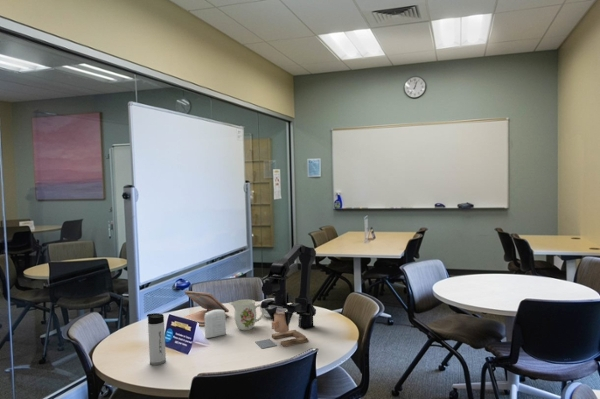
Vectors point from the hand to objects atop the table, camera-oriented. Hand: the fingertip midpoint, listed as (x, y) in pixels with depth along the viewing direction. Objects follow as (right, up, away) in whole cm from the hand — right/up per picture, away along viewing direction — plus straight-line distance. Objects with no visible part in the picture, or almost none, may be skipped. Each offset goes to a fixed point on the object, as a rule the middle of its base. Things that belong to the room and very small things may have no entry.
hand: (281, 324), depth 196 cm
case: (-44, -8, +38) cm, 59 cm away
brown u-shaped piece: (+3, -7, +2) cm, 8 cm away
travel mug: (-50, -10, -19) cm, 55 cm away
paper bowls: (-6, -7, +39) cm, 40 cm away
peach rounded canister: (-1, -3, -1) cm, 3 cm away
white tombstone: (-32, -9, +11) cm, 35 cm away
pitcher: (-18, -8, +21) cm, 28 cm away
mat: (-7, -8, -3) cm, 11 cm away
